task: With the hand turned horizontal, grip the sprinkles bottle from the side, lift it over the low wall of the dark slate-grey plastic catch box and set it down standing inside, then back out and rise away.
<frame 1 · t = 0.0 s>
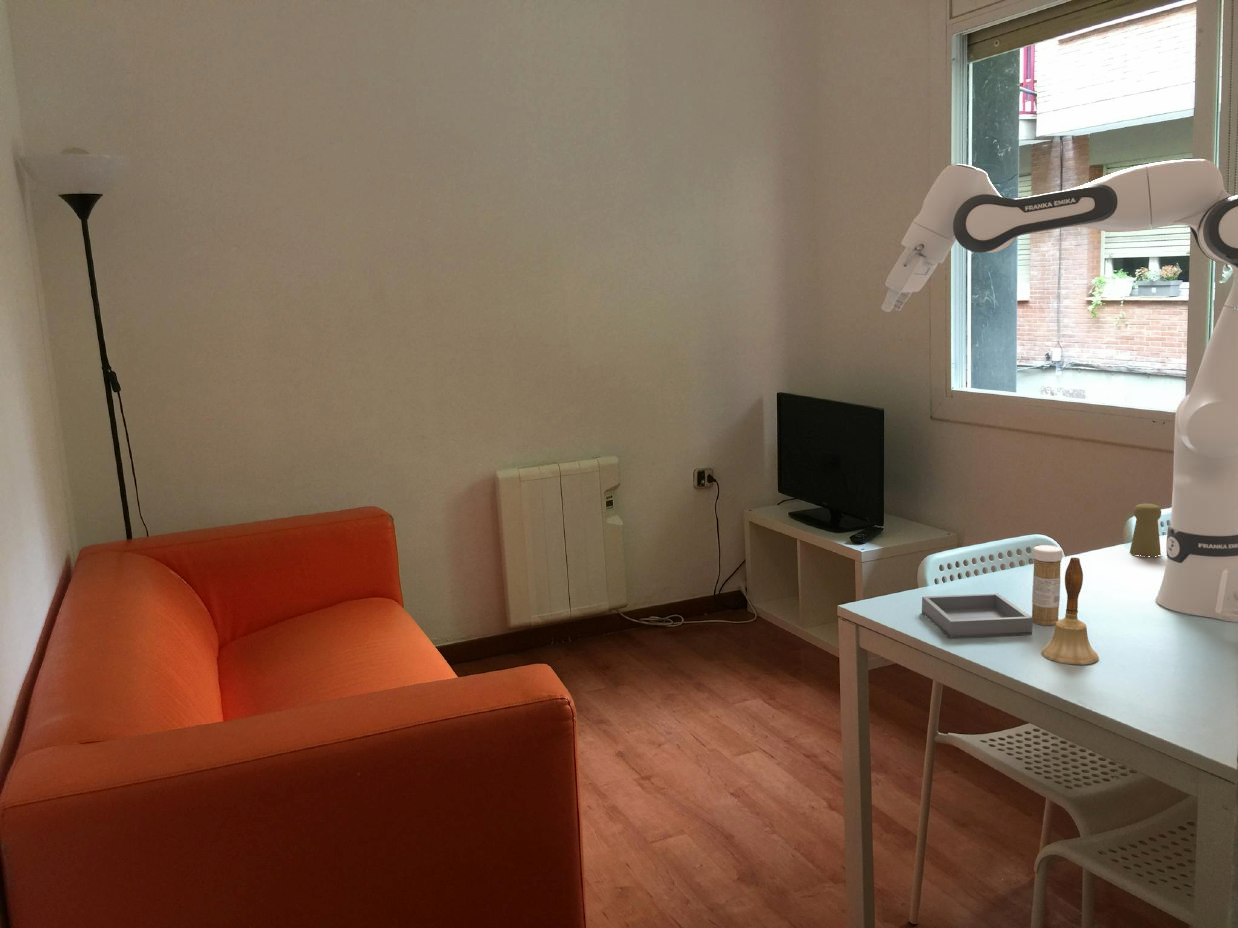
hand: (890, 310, 193), 54 cm above the table, tool tilted 30°, fingers open, 8 cm apart
hand bell: (1069, 656, 155), on the table
sprinkles bottle: (1044, 623, 171), on the table
cork: (1145, 554, 212), on the table
catch box: (974, 623, 172), on the table
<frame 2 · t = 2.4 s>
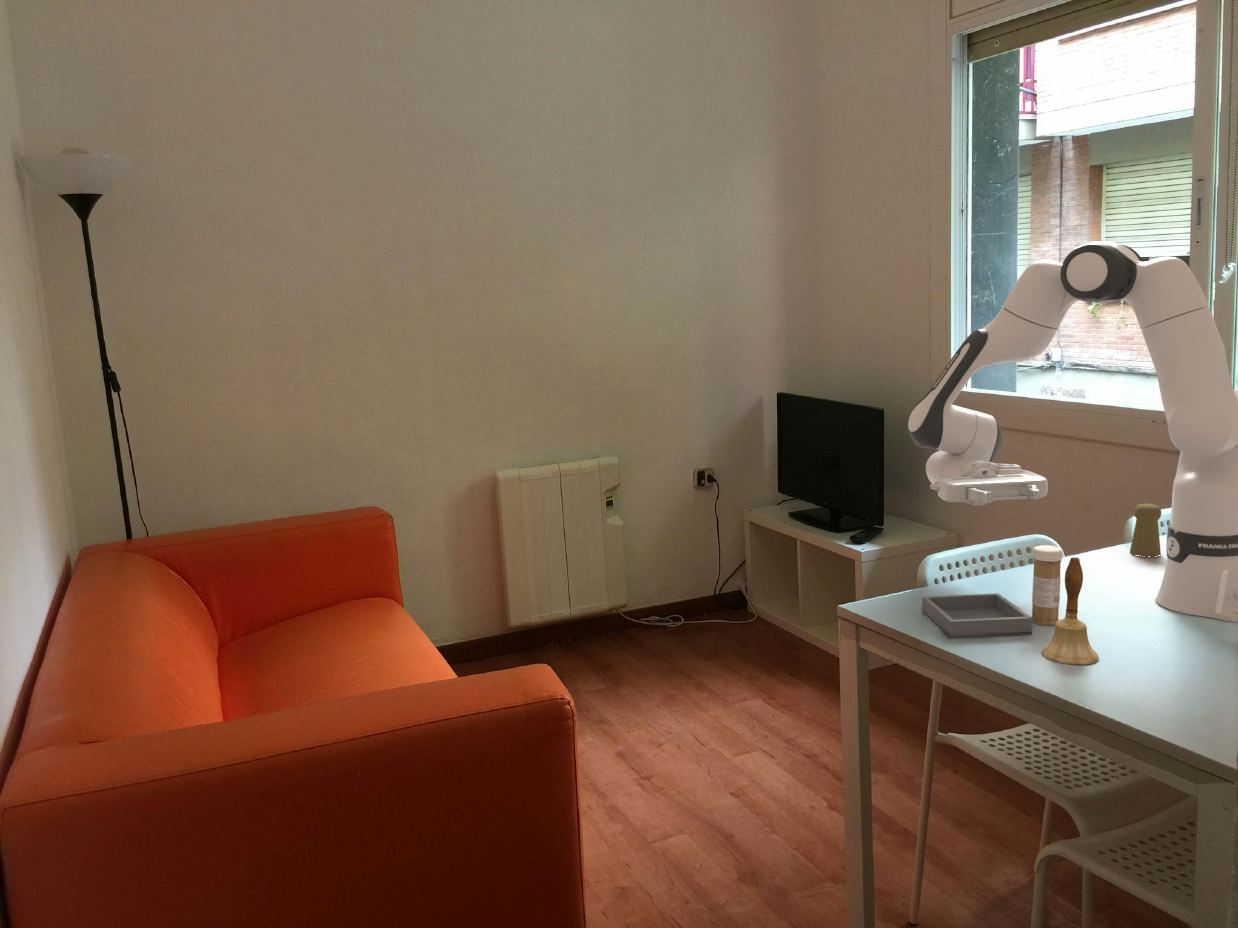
hand: (1012, 496, 179), 20 cm above the table, tool horizontal, fingers open, 8 cm apart
nothing on the table moved.
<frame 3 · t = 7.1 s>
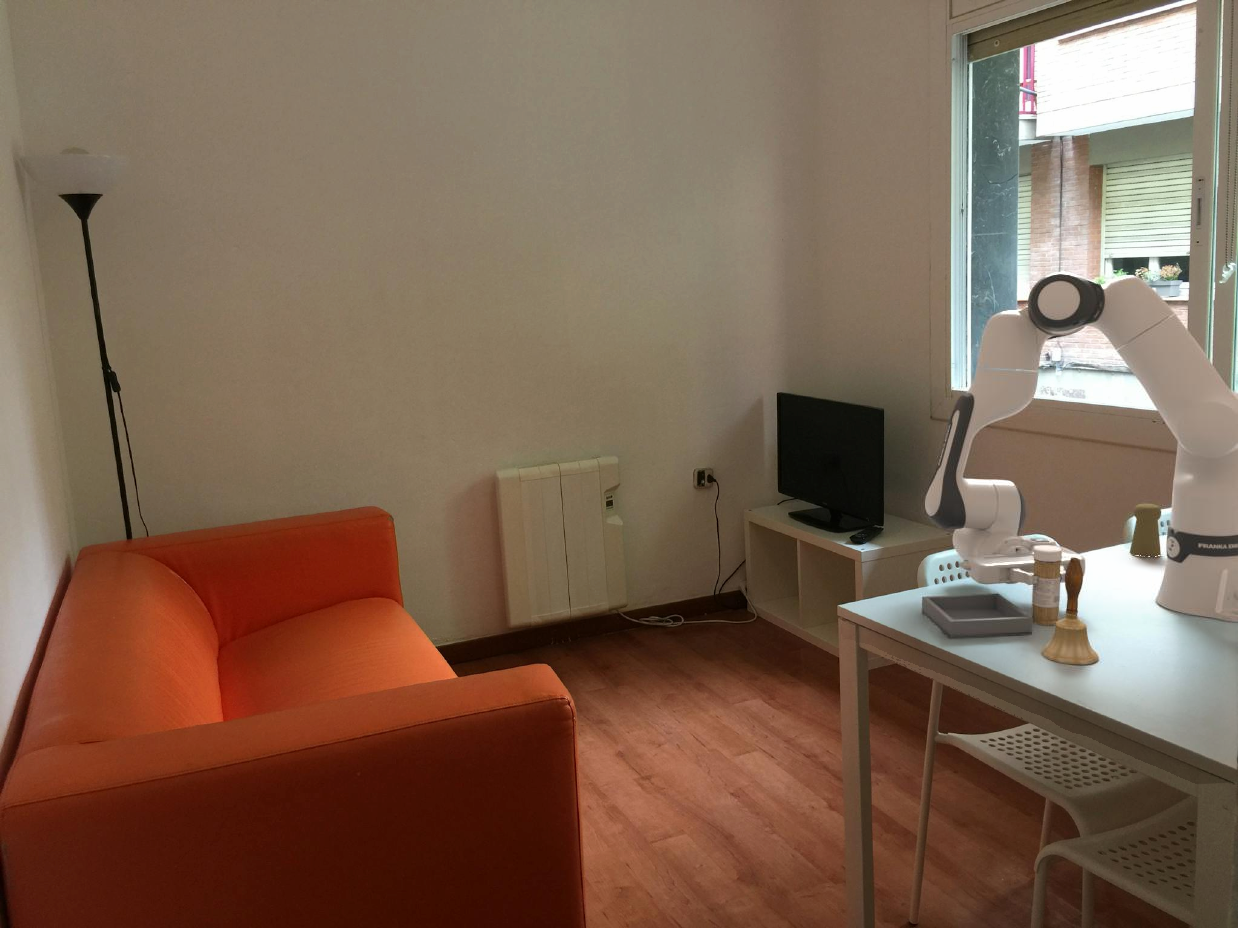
hand: (1049, 579, 169), 8 cm above the table, tool horizontal, fingers closed on sprinkles bottle, 4 cm apart
sprinkles bottle: (1044, 623, 171), on the table, touching gripper
everything else where it was.
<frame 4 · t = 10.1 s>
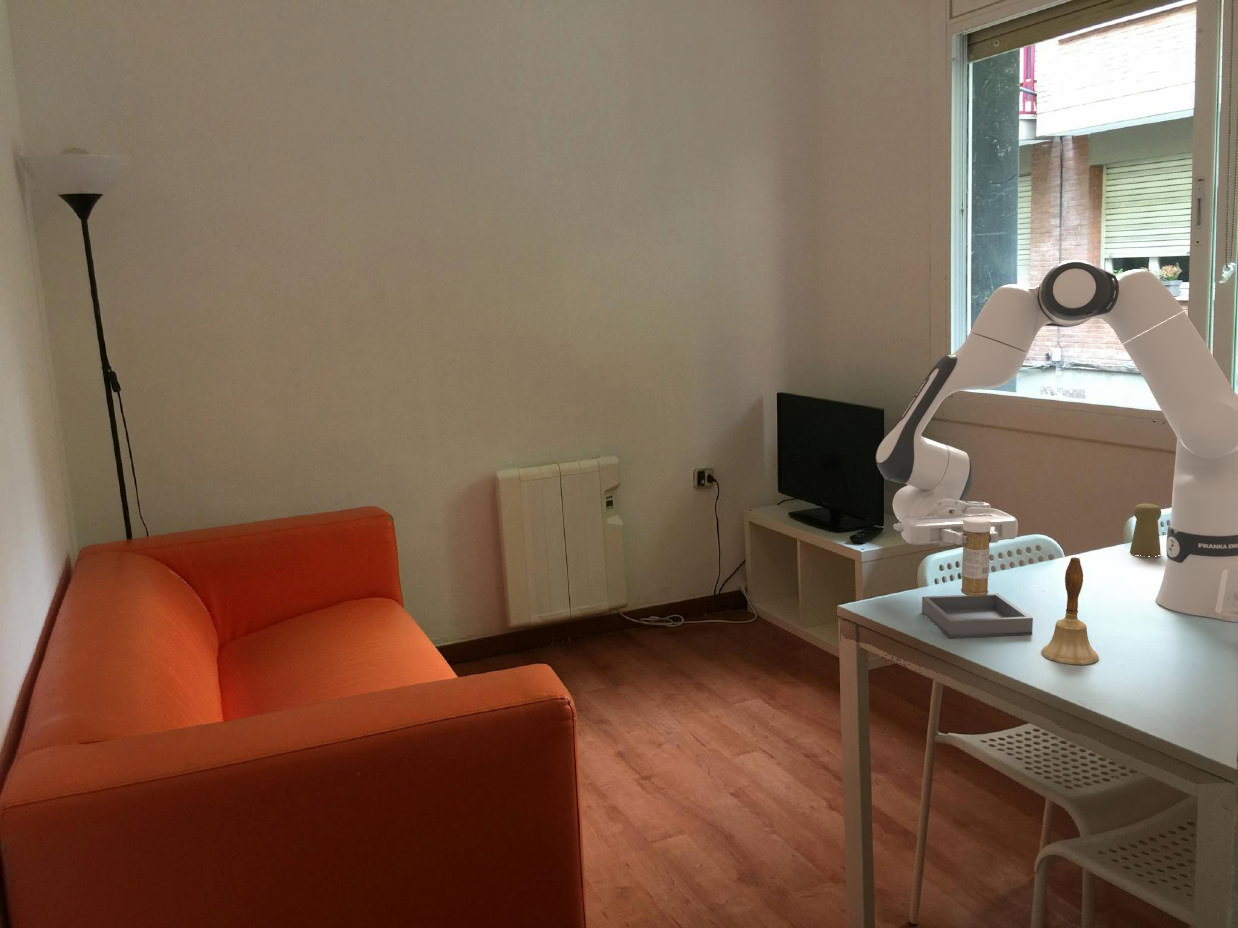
hand: (979, 539, 168), 15 cm above the table, tool horizontal, fingers closed on sprinkles bottle, 4 cm apart
sprinkles bottle: (974, 594, 171), point 5 cm above the table, touching gripper
everything else where it was.
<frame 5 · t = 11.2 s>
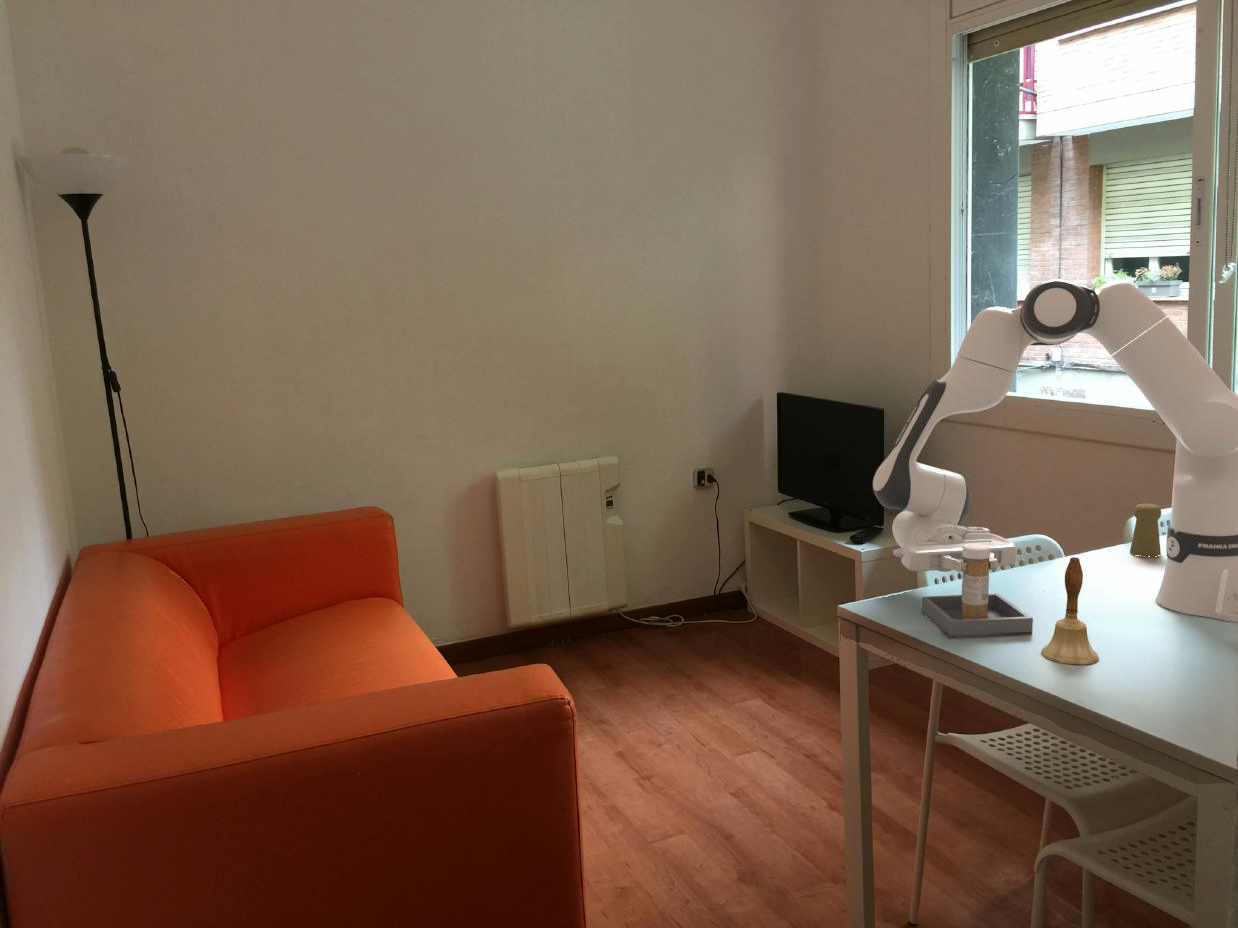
hand: (978, 566, 169), 11 cm above the table, tool horizontal, fingers closed on sprinkles bottle, 4 cm apart
sprinkles bottle: (974, 620, 172), resting on catch box, touching gripper
everything else where it was.
when the fingers open (11 cm above the table, at t = 11.8 s): sprinkles bottle stays where it is, resting on catch box.
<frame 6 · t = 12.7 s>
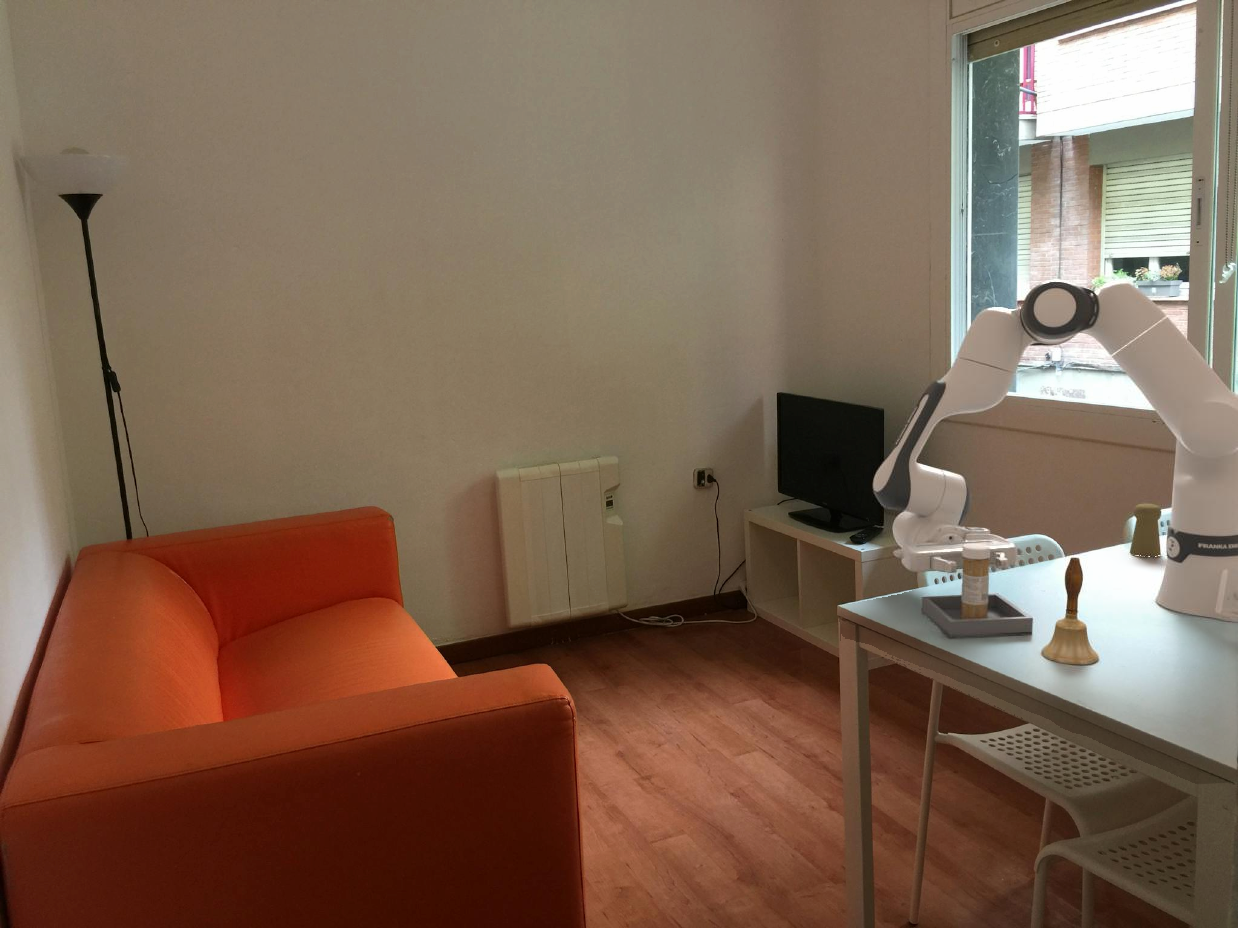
hand: (978, 566, 169), 11 cm above the table, tool horizontal, fingers open, 8 cm apart
sprinkles bottle: (974, 620, 172), resting on catch box
everything else where it was.
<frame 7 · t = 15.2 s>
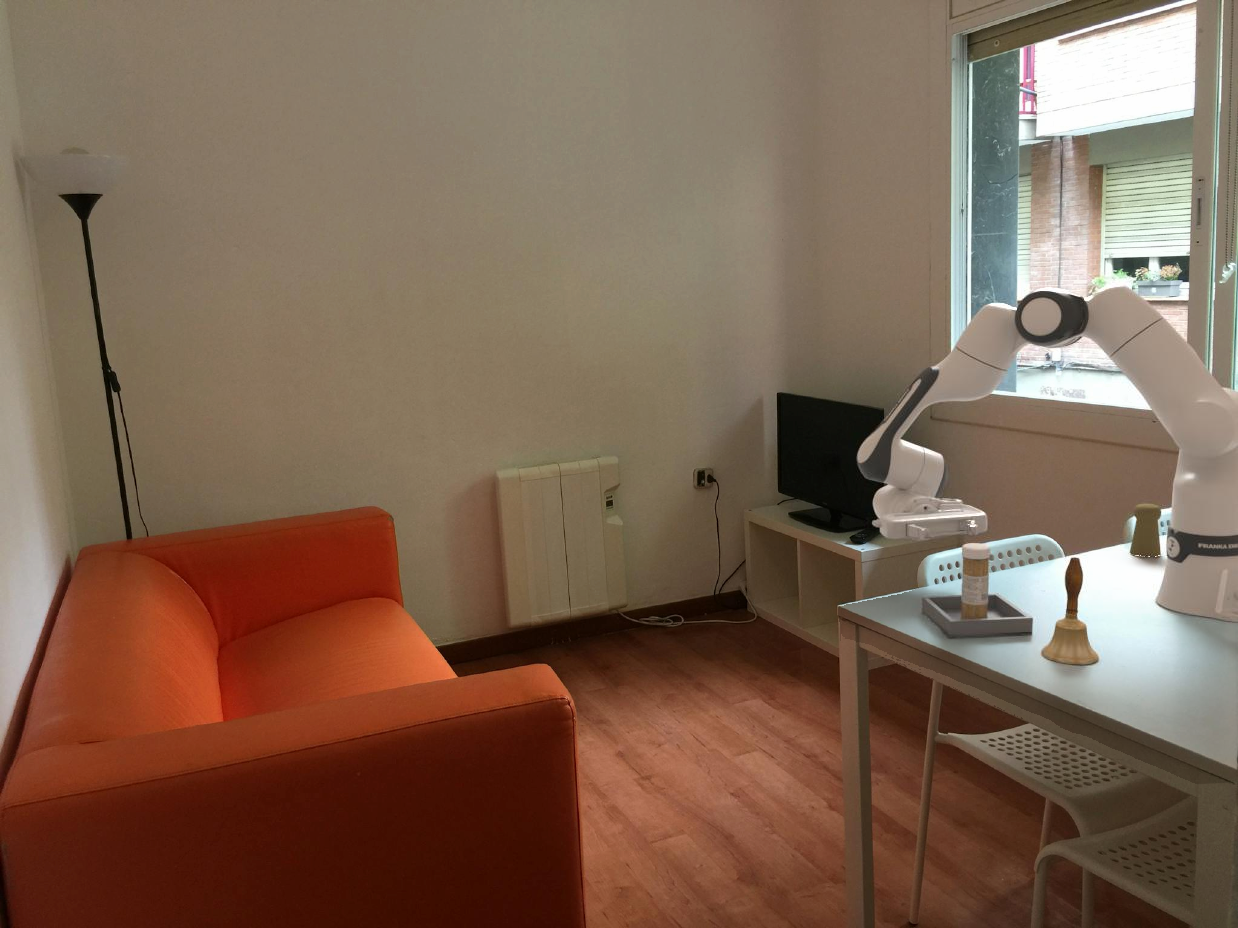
hand: (950, 532, 181), 13 cm above the table, tool horizontal, fingers open, 8 cm apart
nothing on the table moved.
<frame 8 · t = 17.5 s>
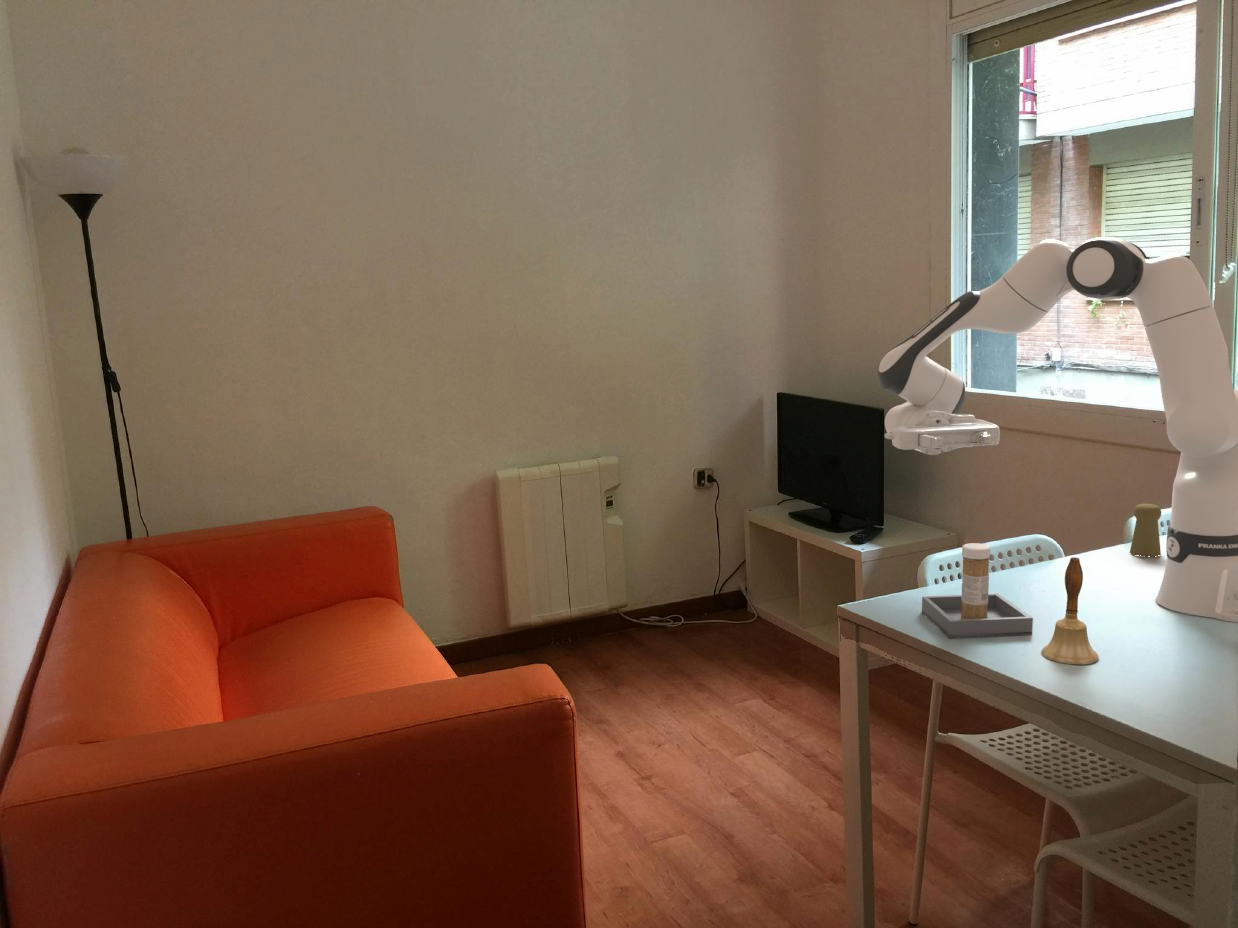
hand: (963, 441, 182), 30 cm above the table, tool horizontal, fingers open, 8 cm apart
nothing on the table moved.
at the end: sprinkles bottle inside the target area on the catch box (0.1 cm from its centre), point 0.4 cm above the catch box's base; sprinkles bottle tilted 0°; the gripper is holding nothing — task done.
